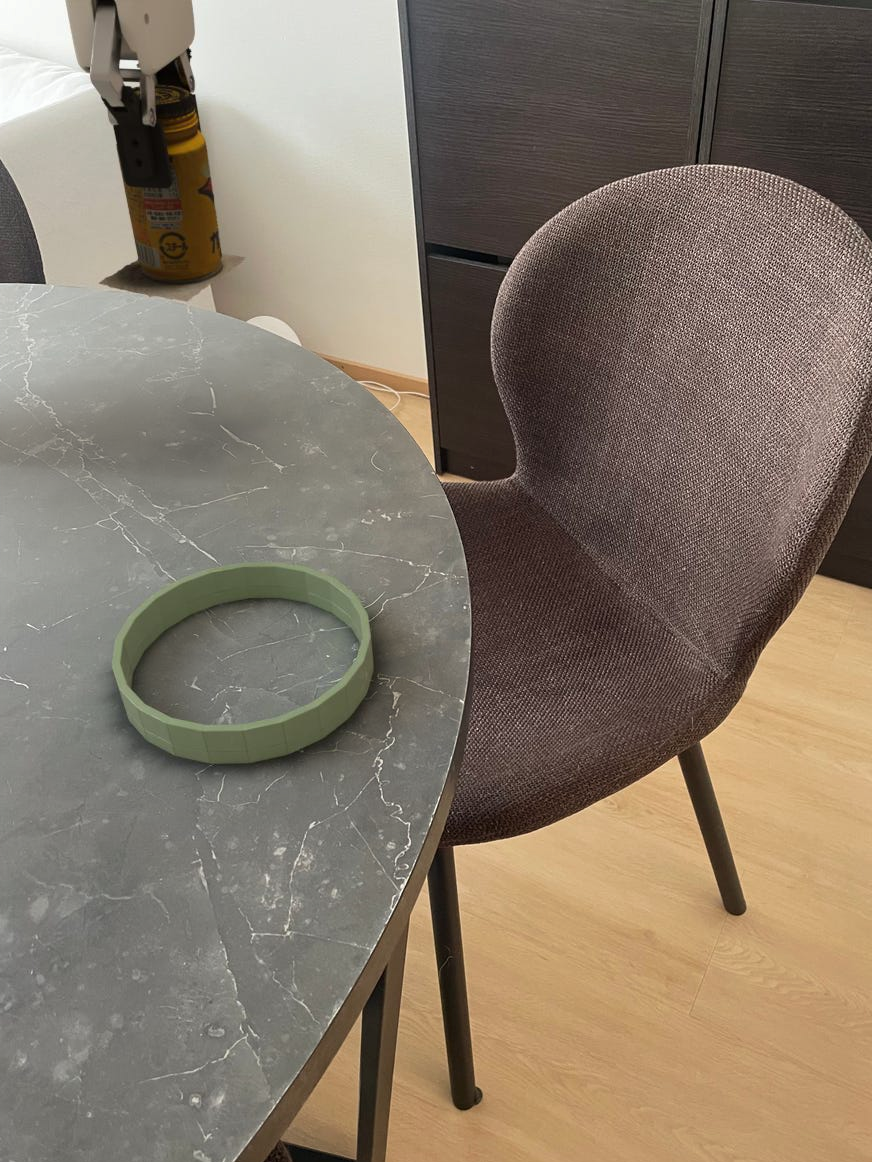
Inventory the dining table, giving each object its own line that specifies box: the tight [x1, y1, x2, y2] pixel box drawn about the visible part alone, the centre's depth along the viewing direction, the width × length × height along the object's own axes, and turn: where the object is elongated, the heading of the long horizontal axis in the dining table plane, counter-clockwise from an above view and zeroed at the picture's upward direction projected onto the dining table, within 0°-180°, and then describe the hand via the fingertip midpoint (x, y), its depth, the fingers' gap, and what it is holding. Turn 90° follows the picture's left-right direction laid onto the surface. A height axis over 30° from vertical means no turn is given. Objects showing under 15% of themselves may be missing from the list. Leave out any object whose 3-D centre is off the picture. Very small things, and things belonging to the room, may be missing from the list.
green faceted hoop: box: [111, 561, 375, 765], centre depth 63 cm, size 15×15×4 cm
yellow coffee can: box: [98, 85, 246, 302], centre depth 73 cm, size 7×8×12 cm
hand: (166, 167), depth 73 cm, fingers closed on yellow coffee can, 6 cm apart
